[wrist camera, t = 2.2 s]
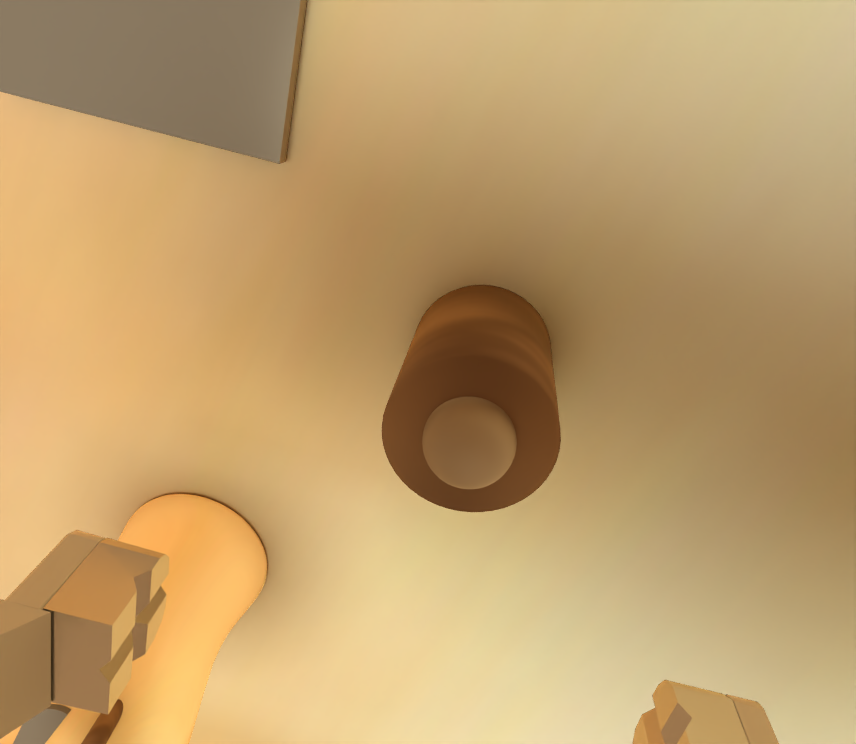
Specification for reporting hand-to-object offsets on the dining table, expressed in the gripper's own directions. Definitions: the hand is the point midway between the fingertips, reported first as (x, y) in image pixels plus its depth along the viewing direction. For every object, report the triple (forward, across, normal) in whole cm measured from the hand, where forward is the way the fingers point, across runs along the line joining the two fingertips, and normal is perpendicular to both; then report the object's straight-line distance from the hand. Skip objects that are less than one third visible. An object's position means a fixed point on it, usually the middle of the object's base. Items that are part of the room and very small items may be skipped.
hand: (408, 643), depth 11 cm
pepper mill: (+13, -1, 0) cm, 13 cm away
